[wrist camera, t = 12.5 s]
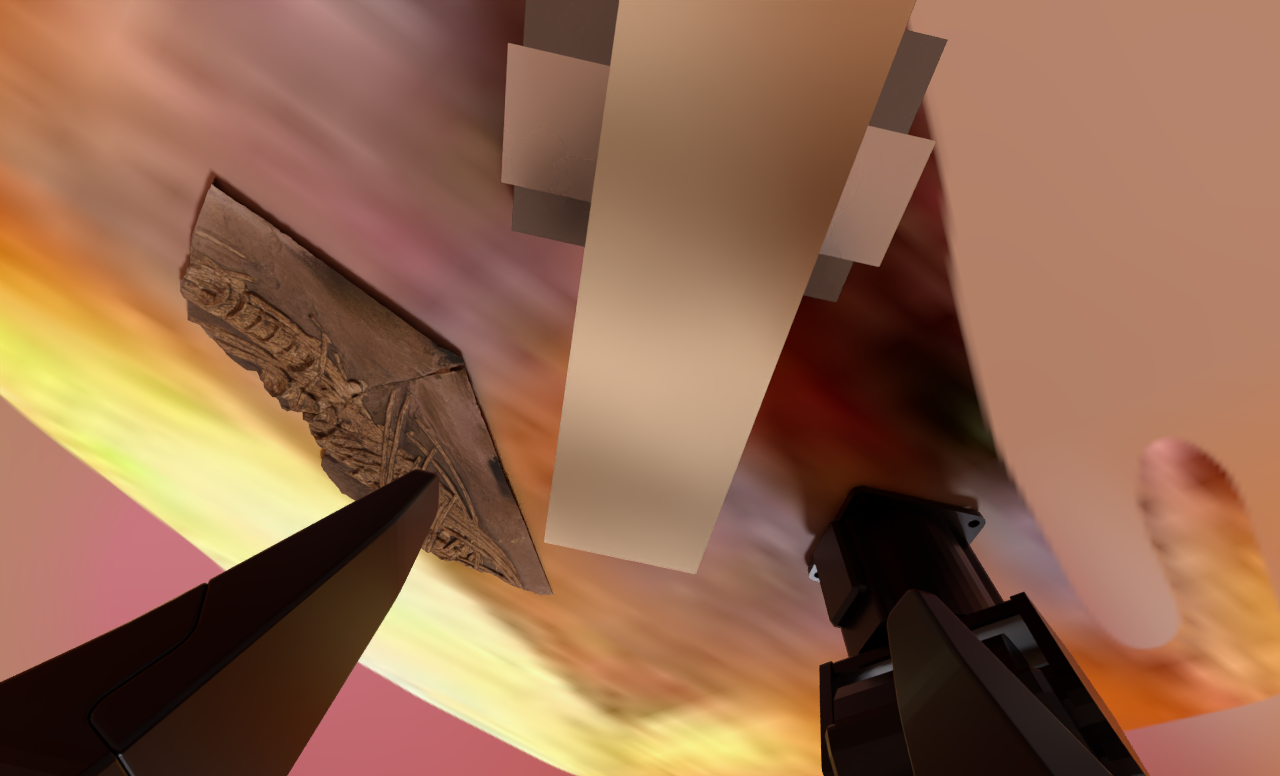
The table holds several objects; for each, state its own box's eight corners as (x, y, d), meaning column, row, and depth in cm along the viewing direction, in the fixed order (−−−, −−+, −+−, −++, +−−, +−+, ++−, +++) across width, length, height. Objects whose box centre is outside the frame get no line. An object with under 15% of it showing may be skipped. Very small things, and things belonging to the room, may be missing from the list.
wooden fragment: (125, 235, 21) (100, 241, 20) (316, 120, 18) (297, 122, 18) (459, 608, 33) (452, 623, 32) (611, 574, 30) (608, 589, 29)
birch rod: (695, 463, 17) (695, 574, 13) (578, 438, 17) (543, 542, 13) (989, -435, 8) (1291, -974, 4) (733, -500, 8) (775, -1125, 4)
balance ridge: (926, 44, 15) (1043, 18, 10) (826, 288, 19) (874, 358, 14) (543, -46, 15) (466, -118, 10) (523, 221, 19) (461, 267, 14)
